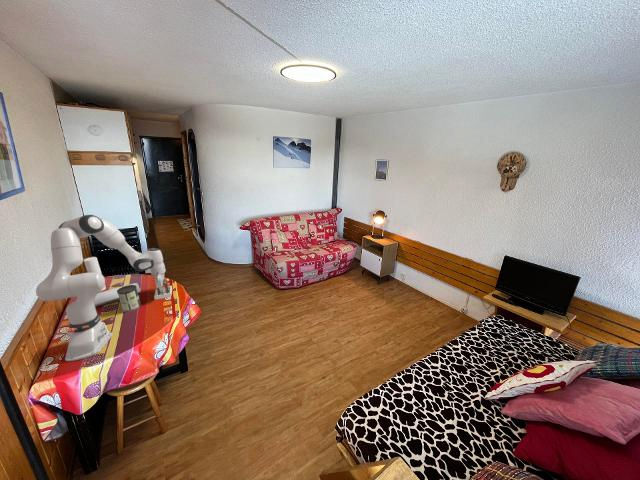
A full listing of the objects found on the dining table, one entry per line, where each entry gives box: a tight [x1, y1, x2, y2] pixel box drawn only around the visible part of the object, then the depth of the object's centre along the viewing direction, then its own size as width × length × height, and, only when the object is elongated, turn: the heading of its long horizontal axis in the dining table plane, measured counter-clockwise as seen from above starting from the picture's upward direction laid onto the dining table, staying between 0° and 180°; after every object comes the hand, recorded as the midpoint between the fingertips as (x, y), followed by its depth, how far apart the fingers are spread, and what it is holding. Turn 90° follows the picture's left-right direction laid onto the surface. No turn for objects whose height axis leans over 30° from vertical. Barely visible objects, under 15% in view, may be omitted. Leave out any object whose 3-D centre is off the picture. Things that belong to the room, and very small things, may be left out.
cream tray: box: [153, 285, 173, 301], centre depth 186 cm, size 12×10×3 cm
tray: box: [94, 282, 141, 308], centre depth 182 cm, size 17×32×4 cm, turn 132°
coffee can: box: [117, 284, 142, 313], centre depth 169 cm, size 10×10×14 cm
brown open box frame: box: [156, 278, 169, 295], centre depth 185 cm, size 6×6×10 cm
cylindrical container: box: [83, 256, 107, 293], centre depth 189 cm, size 7×7×25 cm
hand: (161, 287), depth 185 cm, fingers open, 8 cm apart
